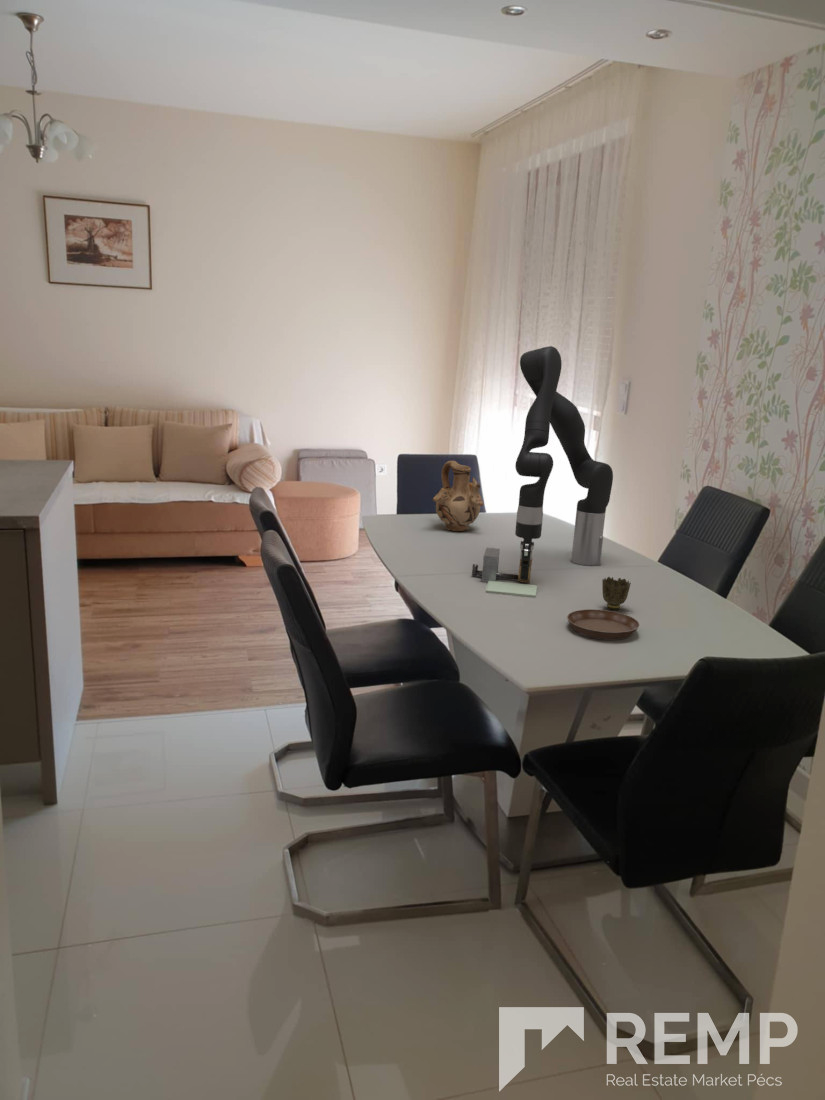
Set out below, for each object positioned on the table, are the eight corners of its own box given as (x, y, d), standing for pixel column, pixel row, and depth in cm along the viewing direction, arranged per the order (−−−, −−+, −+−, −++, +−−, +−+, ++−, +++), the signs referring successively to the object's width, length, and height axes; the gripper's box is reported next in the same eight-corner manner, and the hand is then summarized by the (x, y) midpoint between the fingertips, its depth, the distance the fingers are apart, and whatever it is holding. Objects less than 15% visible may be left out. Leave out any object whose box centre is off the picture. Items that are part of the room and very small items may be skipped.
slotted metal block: (497, 574, 254) (499, 548, 252) (495, 583, 244) (497, 556, 242) (484, 573, 255) (486, 547, 253) (481, 582, 245) (483, 555, 243)
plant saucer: (551, 628, 210) (553, 616, 209) (591, 615, 222) (593, 604, 221) (612, 649, 198) (614, 637, 197) (651, 633, 210) (652, 622, 209)
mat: (536, 587, 243) (536, 585, 243) (535, 597, 233) (535, 595, 233) (488, 582, 245) (488, 580, 245) (485, 592, 235) (485, 590, 235)
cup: (627, 606, 230) (631, 578, 228) (626, 614, 223) (630, 585, 221) (600, 603, 232) (603, 575, 230) (598, 610, 225) (601, 582, 223)
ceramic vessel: (430, 533, 302) (435, 464, 296) (432, 521, 321) (436, 456, 314) (480, 536, 302) (486, 467, 295) (479, 525, 320) (485, 460, 314)
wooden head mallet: (529, 579, 249) (532, 557, 248) (529, 583, 246) (532, 560, 244) (472, 573, 252) (474, 551, 250) (471, 576, 249) (473, 553, 247)
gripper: (541, 526, 236) (536, 585, 240) (542, 516, 250) (537, 572, 254) (515, 524, 237) (510, 582, 242) (517, 514, 251) (512, 569, 255)
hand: (524, 577), depth 248 cm, fingers closed on wooden head mallet, 3 cm apart
